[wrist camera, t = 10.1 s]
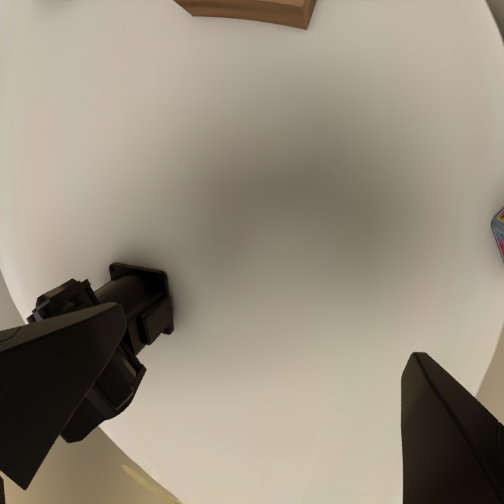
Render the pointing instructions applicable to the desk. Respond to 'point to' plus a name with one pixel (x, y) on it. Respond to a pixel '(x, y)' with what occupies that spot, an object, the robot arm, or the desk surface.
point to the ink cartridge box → (499, 230)
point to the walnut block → (255, 10)
